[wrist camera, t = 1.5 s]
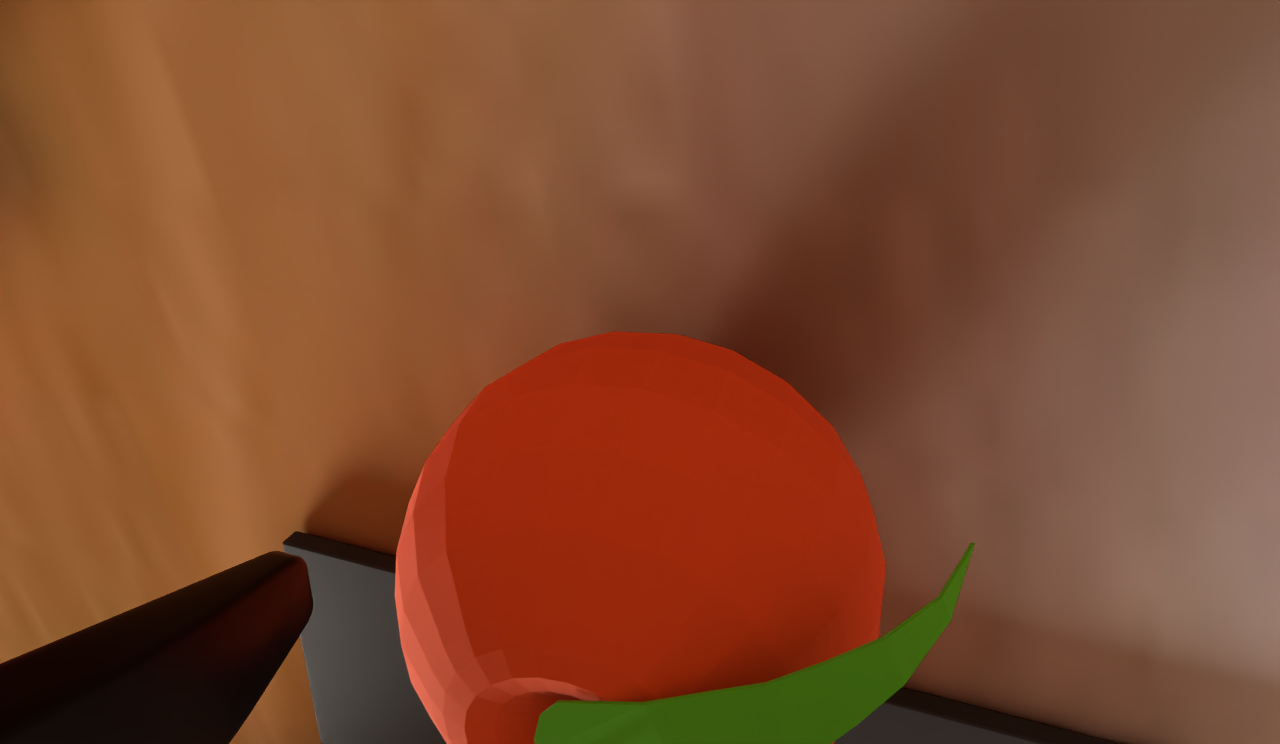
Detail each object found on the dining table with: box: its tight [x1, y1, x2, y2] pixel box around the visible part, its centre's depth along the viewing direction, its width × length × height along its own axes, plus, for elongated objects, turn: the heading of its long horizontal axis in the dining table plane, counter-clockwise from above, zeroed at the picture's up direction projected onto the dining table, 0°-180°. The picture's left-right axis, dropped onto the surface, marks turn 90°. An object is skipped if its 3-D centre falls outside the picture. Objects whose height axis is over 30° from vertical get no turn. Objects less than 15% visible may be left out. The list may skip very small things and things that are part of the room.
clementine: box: [395, 332, 975, 744], centre depth 10 cm, size 8×7×7 cm
